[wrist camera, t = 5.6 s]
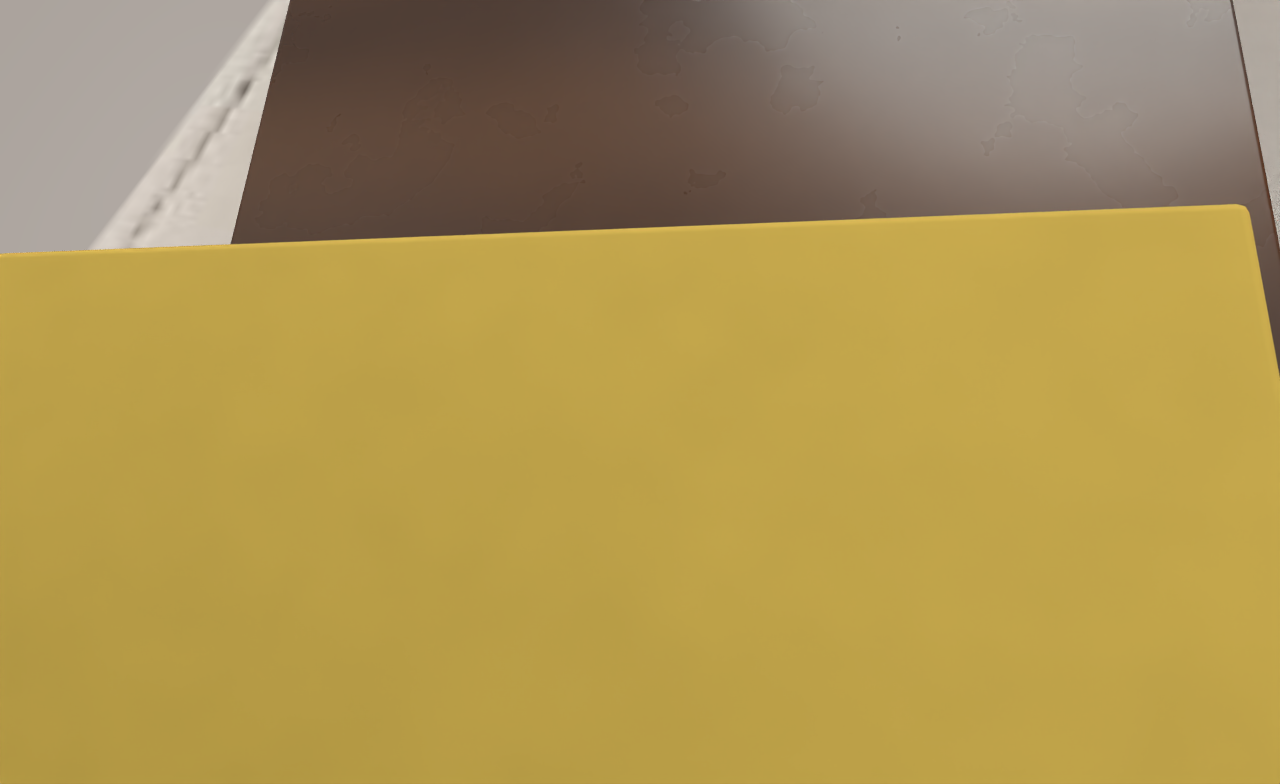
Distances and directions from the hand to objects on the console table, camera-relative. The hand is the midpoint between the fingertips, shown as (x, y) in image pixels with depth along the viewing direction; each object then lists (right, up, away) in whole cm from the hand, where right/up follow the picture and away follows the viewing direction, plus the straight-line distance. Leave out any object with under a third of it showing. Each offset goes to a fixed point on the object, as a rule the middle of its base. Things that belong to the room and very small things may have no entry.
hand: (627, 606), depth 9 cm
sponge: (+1, -3, +4) cm, 6 cm away
